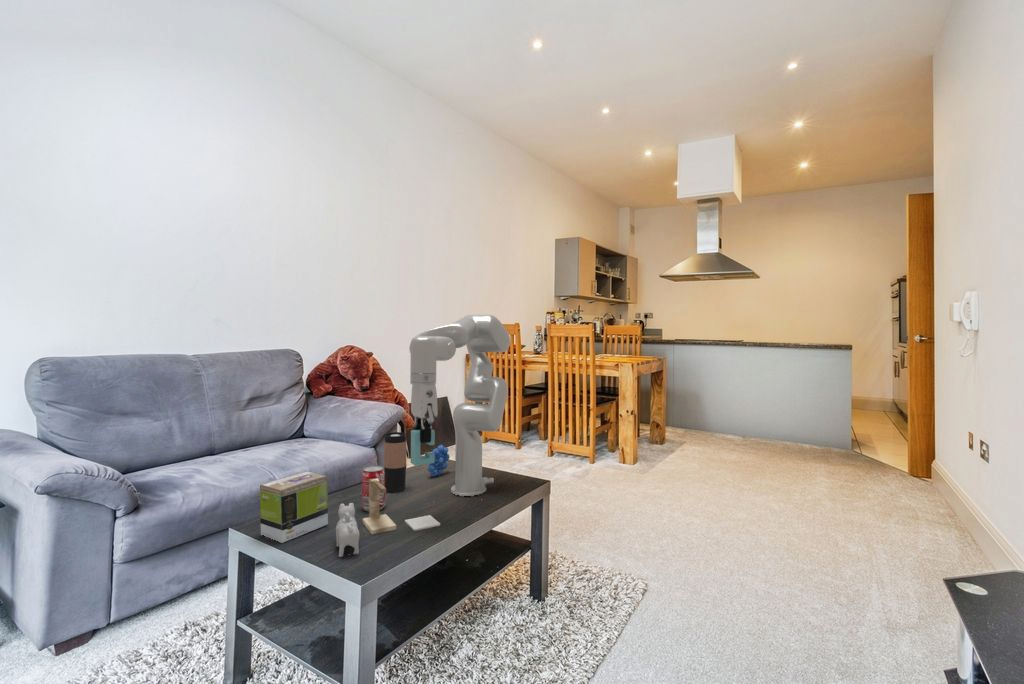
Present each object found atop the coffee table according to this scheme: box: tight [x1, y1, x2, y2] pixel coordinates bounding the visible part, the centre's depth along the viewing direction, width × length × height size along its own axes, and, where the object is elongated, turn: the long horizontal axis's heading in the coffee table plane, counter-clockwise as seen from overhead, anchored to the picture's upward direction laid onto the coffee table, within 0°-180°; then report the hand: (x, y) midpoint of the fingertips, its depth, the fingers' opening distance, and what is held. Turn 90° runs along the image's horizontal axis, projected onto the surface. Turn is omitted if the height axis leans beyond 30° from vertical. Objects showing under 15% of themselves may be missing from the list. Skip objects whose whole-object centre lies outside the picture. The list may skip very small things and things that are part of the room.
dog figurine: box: [335, 502, 361, 558], centre depth 127 cm, size 5×13×11 cm, turn 26°
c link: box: [410, 428, 436, 466], centre depth 143 cm, size 6×4×10 cm, turn 122°
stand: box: [362, 478, 397, 535], centre depth 141 cm, size 7×11×12 cm, turn 32°
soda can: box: [361, 465, 386, 513], centre depth 155 cm, size 7×7×13 cm
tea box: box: [259, 470, 329, 544], centre depth 137 cm, size 15×10×15 cm, turn 149°
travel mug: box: [383, 431, 407, 494], centre depth 174 cm, size 8×8×20 cm
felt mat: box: [404, 514, 441, 532], centre depth 144 cm, size 8×8×1 cm
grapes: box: [427, 444, 450, 477], centre depth 192 cm, size 12×7×12 cm, turn 145°
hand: (422, 440), depth 143 cm, fingers closed on c link, 3 cm apart
